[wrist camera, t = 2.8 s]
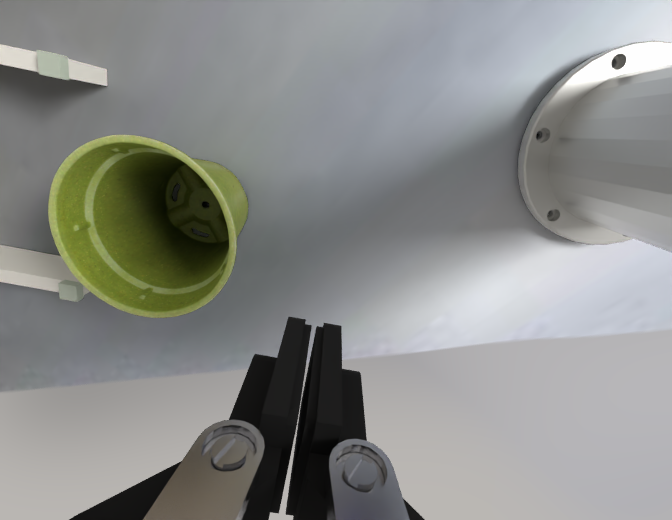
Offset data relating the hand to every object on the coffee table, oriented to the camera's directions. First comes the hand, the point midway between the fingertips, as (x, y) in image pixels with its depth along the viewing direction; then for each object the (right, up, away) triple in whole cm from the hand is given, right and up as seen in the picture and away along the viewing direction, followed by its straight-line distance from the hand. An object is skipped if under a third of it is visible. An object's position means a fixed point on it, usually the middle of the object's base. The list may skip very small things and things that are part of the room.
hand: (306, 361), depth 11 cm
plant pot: (-9, +7, +15) cm, 19 cm away
